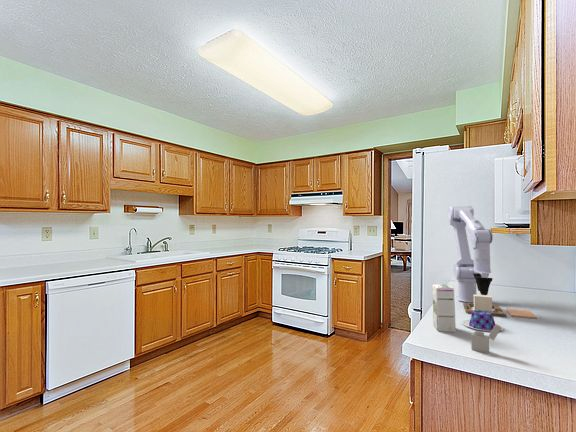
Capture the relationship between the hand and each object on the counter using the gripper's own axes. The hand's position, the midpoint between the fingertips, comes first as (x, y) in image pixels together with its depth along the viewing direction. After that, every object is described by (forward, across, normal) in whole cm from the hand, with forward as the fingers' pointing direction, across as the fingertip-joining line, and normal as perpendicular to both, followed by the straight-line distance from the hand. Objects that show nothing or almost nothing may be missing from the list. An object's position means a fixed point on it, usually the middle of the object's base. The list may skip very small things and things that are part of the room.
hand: (482, 292), depth 127 cm
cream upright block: (+7, 0, 0) cm, 7 cm away
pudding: (+8, +22, -3) cm, 23 cm away
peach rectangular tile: (+7, 0, +12) cm, 14 cm away
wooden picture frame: (+7, 0, 0) cm, 7 cm away
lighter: (+8, +46, -5) cm, 47 cm away
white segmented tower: (+7, +30, -15) cm, 34 cm away
